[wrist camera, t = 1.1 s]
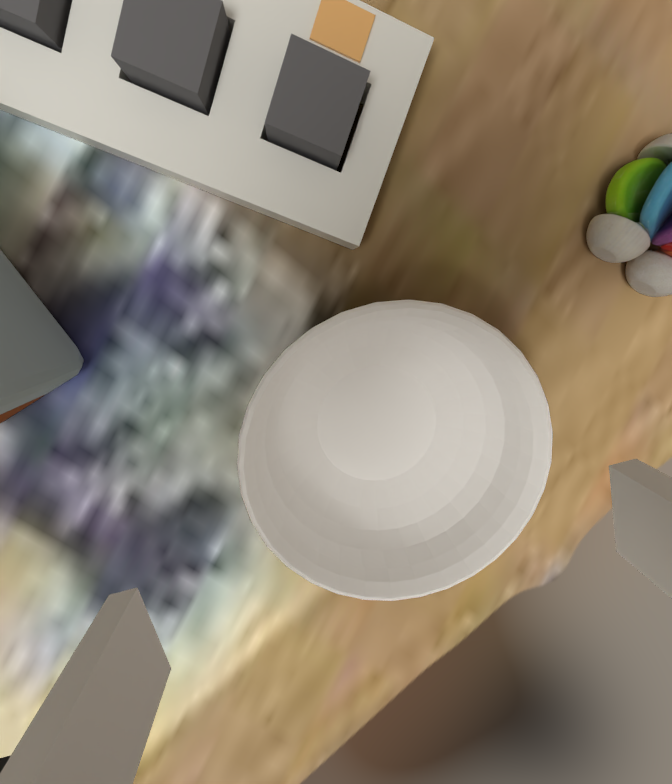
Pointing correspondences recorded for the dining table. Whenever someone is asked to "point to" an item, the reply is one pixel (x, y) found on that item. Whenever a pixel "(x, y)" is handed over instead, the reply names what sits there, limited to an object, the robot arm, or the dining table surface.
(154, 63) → the button middle
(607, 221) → the rainbow disc toy
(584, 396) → the dining table surface
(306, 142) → the button
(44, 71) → the board
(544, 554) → the dining table surface
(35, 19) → the button
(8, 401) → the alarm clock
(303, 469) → the bowl
